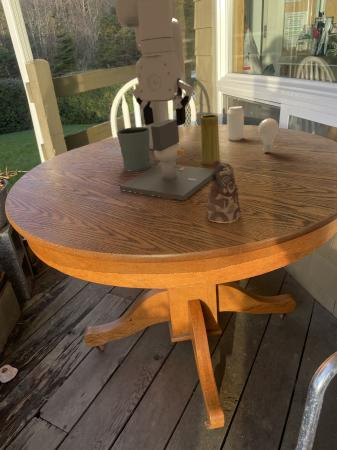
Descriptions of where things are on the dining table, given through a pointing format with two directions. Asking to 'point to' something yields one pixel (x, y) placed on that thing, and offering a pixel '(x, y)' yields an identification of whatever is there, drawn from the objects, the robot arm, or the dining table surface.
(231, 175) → the figurine
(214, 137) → the vase
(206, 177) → the post base
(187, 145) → the dining table surface
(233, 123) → the beverage can
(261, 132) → the lightbulb
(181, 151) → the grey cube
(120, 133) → the grey-green cup
